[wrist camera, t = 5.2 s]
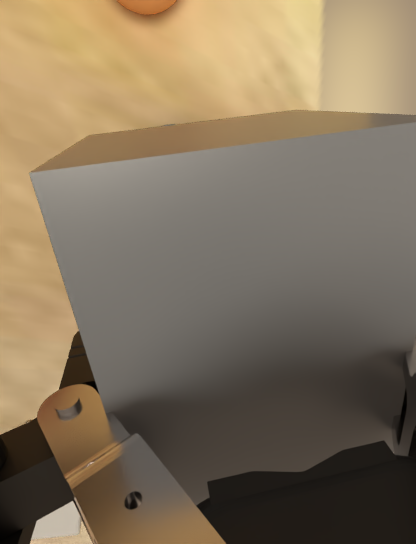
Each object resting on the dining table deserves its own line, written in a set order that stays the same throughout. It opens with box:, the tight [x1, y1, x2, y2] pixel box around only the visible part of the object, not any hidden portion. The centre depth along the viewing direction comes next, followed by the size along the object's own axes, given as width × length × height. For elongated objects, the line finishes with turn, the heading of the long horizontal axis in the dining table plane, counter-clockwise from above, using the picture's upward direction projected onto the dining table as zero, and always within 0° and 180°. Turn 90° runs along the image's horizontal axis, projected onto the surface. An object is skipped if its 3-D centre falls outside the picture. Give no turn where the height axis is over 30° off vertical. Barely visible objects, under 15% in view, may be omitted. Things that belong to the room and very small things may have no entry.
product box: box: [26, 421, 82, 540], centre depth 32 cm, size 6×6×7 cm
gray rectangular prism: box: [29, 110, 416, 505], centre depth 11 cm, size 12×7×7 cm, turn 6°
